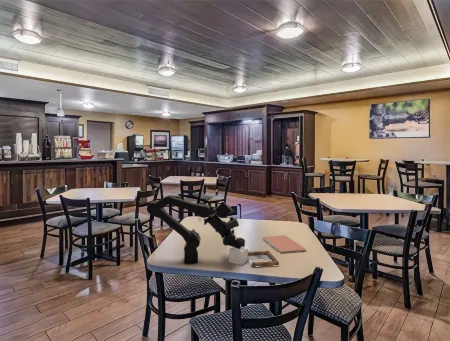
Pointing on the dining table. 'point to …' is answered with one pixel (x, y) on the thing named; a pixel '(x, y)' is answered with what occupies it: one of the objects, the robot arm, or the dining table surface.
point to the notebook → (283, 244)
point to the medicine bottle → (238, 253)
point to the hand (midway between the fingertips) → (239, 246)
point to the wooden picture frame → (264, 256)
